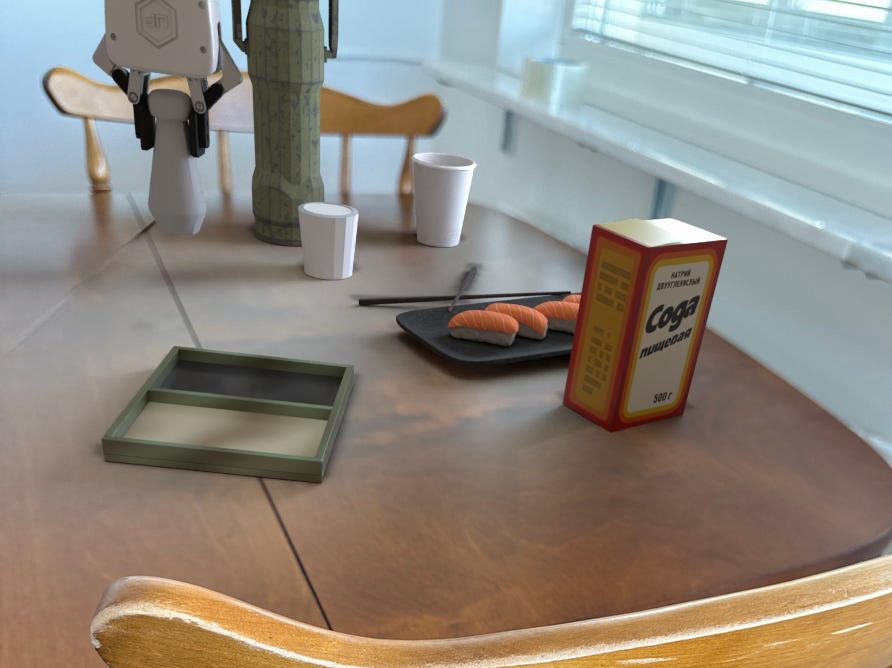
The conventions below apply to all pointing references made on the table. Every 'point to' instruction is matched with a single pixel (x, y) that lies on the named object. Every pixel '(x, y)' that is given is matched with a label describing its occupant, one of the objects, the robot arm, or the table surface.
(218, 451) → the sorting tray
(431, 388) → the table surface
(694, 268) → the baking soda box
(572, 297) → the sushi plate
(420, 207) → the dixie cup
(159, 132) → the salt shaker
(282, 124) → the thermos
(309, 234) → the white faceted cup
